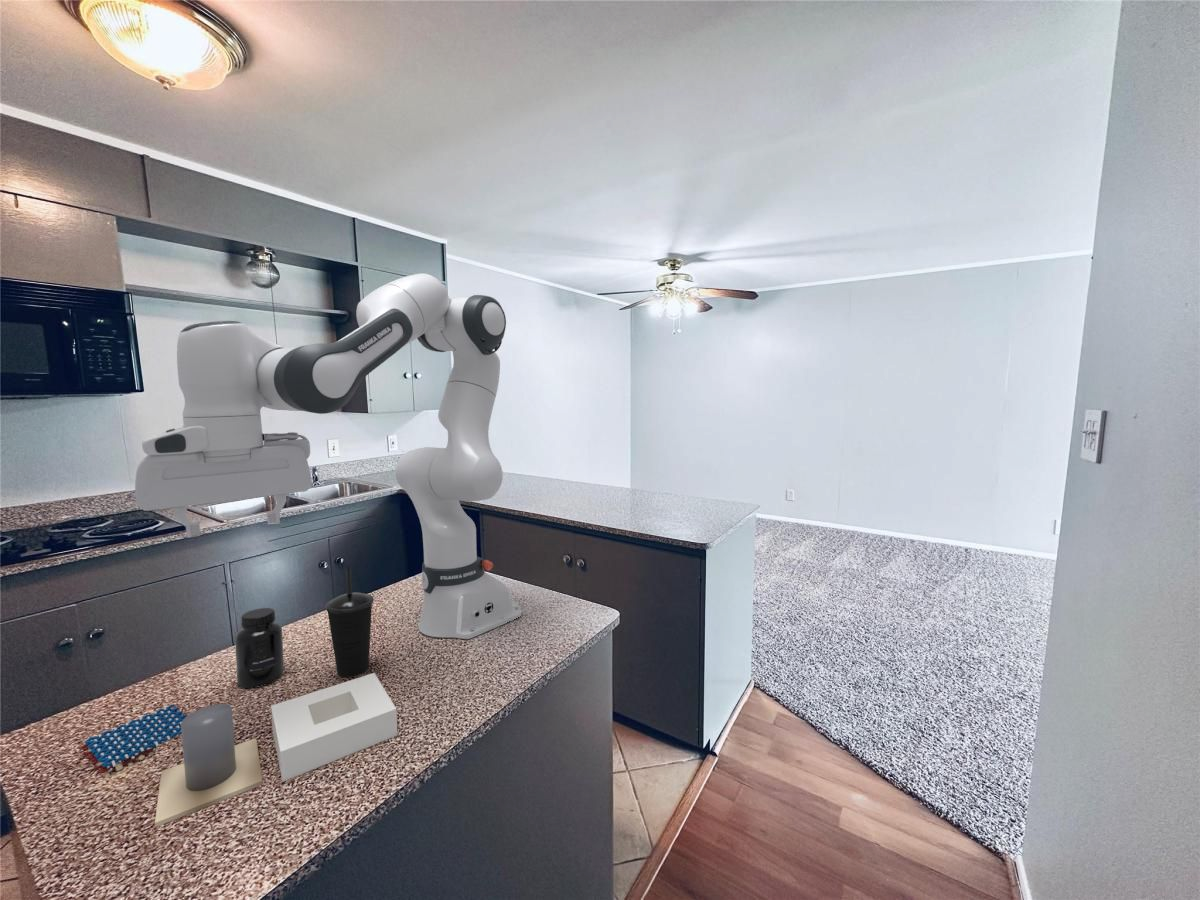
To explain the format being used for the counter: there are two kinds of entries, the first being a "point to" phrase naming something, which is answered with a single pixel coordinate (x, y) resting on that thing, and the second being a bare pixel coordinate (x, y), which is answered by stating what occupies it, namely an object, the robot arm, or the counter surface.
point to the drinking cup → (350, 630)
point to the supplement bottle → (259, 648)
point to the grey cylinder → (208, 747)
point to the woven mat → (132, 740)
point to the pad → (183, 801)
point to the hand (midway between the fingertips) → (235, 529)
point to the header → (331, 724)
